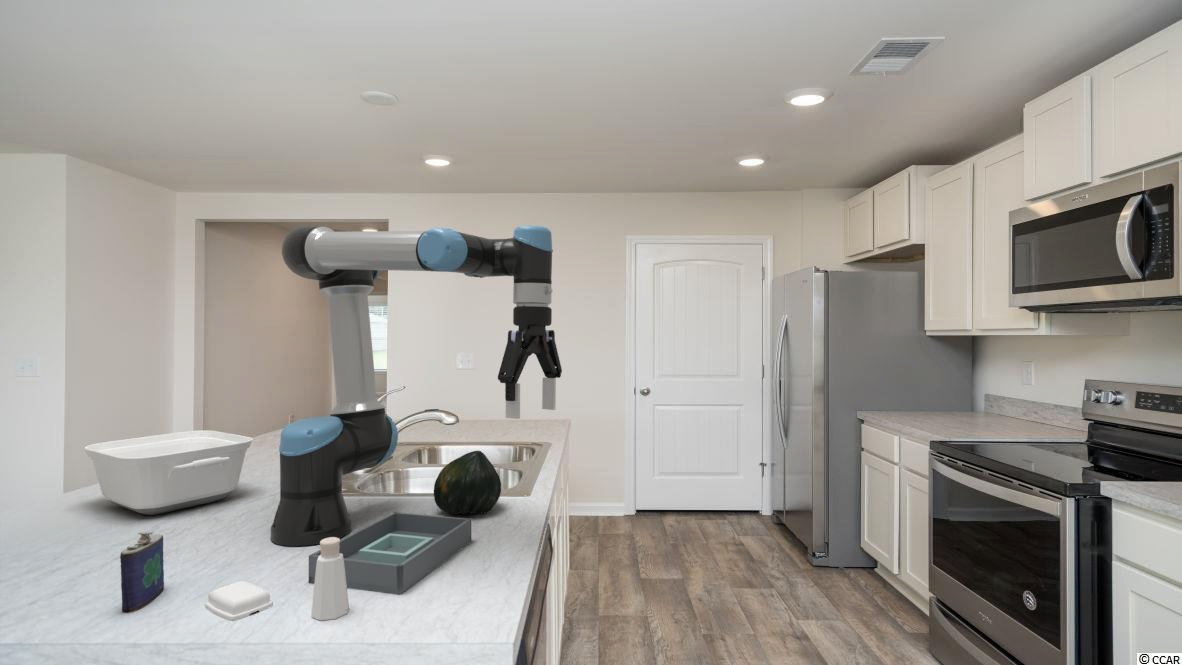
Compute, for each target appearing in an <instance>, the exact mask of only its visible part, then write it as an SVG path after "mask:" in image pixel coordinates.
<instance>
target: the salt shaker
mask: <svg viewBox="0 0 1182 665" xmlns="http://www.w3.org/2000/svg"><path fill="white" fill-rule="evenodd" d="M340 540H341V538H336V537H329V538H325V539H323V540H321V541H320V544H319V545H320V549H319V550H321V555H320V556H319V557H318V559H317V564H316V574H315V583H313V584H314V585H313V594H312V604H311V615H310V617H311V618H312V619H315V620H317V621H320V622H321V621H330V620H337V619H339V618H340V617H342V616H345V615H347V614H348V612H349V609H350V604H349V594H348V588H347V584H346V575H345V567H344V558H343V554H341V553H339V549H340V547H339V546H340V545H339V544H340Z"/></svg>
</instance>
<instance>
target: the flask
mask: <svg viewBox="0 0 1182 665" xmlns="http://www.w3.org/2000/svg"><path fill="white" fill-rule="evenodd" d="M137 535H140V538H138V540H137V543H135V544H134V545H132V546H130V545H129V546H127V547H126V548H125V549H123V551H121V552H120V555H119V556H120V557H119V558H120V561H119V562H120V578H121V579H120V580H121V581H120V585H121V586H120V587H121V612H122V614H126V613H127V614H130V613H134V612H137V611H139V610H141V609H143V608H144V607H145V606H147V605H149V604H150V603H152V602H153V601H155V599H156V598H157V597H158V596H159V595H160V594H162V592H164V588H165V573H164V572H165V571H164V562H165V561H164V535H163V534H160V533H158V534H154V532H153V531H151V532H149V531H147V532H146V531H141V532H138V533H137Z"/></svg>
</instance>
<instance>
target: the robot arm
mask: <svg viewBox="0 0 1182 665" xmlns="http://www.w3.org/2000/svg"><path fill="white" fill-rule="evenodd" d="M552 237H553V236H552V231H551V229H549V228H548V227H545V226H540V225H521V226H517V227H514V230H513V235H512V237H510V238H492V239H491V238H486V237H481V236H478V235H473V234H468V233H465V232H464V233H463V232H460V231H457V230H453V229H451V228H443V227H441V228H440V227H435V228H434V227H433V228H430V229H428V230H397V231H396V230H390V231H389V230H386V231H383V230H382V231H378V230H377V231H370V230H369V231H368V230H367V231H352V230H351V231H347V230H342V229H335V228H329V227H327V226H320V225H314V224H313V225H311V224H310V225H309V224H308V225H301V226H298V227H295V228H294V229H292V230H290V232H288V233H287V234H286V235H285V238H284V239H283V242H282V243H281V244H282V245H281V255H282V259H283V261H284V264H285V265H286V267H288V269H289V270H290V271H291V272H292V273H294V274H295V275H296V276H299V277H301V278H304V279H307V280H314V281H318V287H319V288H318V290H319V293H321V294H322V295H323V296H324V297H325V298H326V299H327V308H328V310H327V311H328V319H329V321H328V322H329V329H330V331H329V332H330V342H331V343H330V344H331V354H332V365H333V367H332V368H333V375H334V387H335V399H336V404H335V406H334V407H333V408H332V410H331V411H330V413H329V415H321V416H320V415H319V416H314V417H308V418H303V419H299V420H295V421H293V422H291V423H288V424H287V425H286V426H284V428H282V430H281V432H280V437H279V438H280V439H279V440H280V441H279V445H278V451H279V476H280V477H279V478H280V479H279V480H280V481H279V482H280V483H279V484H280V485H279V492H280V496H279V503H278V506H277V508H276V511H275V515H274V518H273V522H272V524H271V526H270V540H271V542H272V543H273V544H276V545H280V546H288V547H302V546H303V547H304V546H305V547H306V546H313V545H320V541H321V540H323V539H325V538H329V537H336V538H339V539H342V538H344V536H345V537H346V536H348V534H350V532H351V531H352V518H351V516H350V514H349V511H348V507H347V504H346V501H345V499H344V496H343V476H344V475H349V474H351V473H354V472H358V471H361V470H365V469H372V468H374V467H377V466H379V465H380V464H383V463H385V462H386V461H388V460H389V459H390V458H391V456H392V455H393V454H394V453H395V450H396V449H397V445H398V440H399V431H398V427H397V425H396V423H395V421H393V418H392V417H391V416H390V415H388V414H386V409H385V408H386V407H385V405H384V404H382V402H380V401H379V399H378V397H377V386H376V385H377V384H376V374H375V364H374V363H375V362H374V351H373V343H372V342H373V340H372V330H371V319H370V309H369V306H370V305H369V299H368V298H369V297H368V296H369V295H370V294H371V293H372V292H373V290H374V288H375V287H374V282H375V281H376V280H377V279H378V278H379V276H380V275H379V273H382V271H404V272H406V271H407V272H408V271H409V272H410V271H413V272H416V271H417V272H444V273H447V272H448V273H458V274H464V275H465V276H467V277H471V278H473V277H474V278H480V279H481V278H491V277H493V278H494V277H512V278H513V289H512V290H513V293H512V295H513V296H512V297H513V298H512V302H513V304H514V305H515V307H514V308H513V310H512V311H513V313H512V316H513V317H512V318H513V320H512V322H513V323H512V324H513V325H514V326H517V327H518V330H508V332H507V342H506V346H505V350H504V353H503V357H502V361H501V364H500V368H499V371H498V374H497V380H498V381H499V382H500V384H504V385H505V388H504V389H505V390H504V392H505V395H504V397H505V418H506V419H513V420H514V419H515V420H519V419H521V383H518V381H519V379H520V377H521V375H522V373H523V370H524V368H525V365H526V363H527V361H528V359H529V357H530V356H532V355H533V354H534V355H535V356H536V358H537V361H538V363H539V366H540V367H541V369H542V373H543V374H544V377H542V384H541V385H542V399H541V400H542V401H541V403H542V404H541V406H542V407H541V409H542V410H547V411H548V410H549V411H551V410H552V411H555V410H556V401H557V400H556V395H557V394H556V392H557V391H556V386H557V382H556V381H557V379H556V378H561V377H562V373H563V371H562V370H563V368H562V366H561V365H562V364H561V361H560V360H561V359H560V357H559V353H558V352H559V351H558V348H557V344H556V339H555V338H556V335H555V330H553V329H546V328H547V327H550V326H551V325H552V323H553V322H552V320H553V318H552V307H550V306H549V305H551V304H552V294H553V289H552V282H553V281H552V271H553V268H552V266H553V265H552V264H553V252H554V250H553V240H552V239H553V238H552Z"/></svg>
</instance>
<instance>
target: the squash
mask: <svg viewBox="0 0 1182 665" xmlns="http://www.w3.org/2000/svg"><path fill="white" fill-rule="evenodd" d="M501 491H502V482H501V478H500V475H499V474H498V472H497V470H496V467H495V466H494V465H493V463H492V462H491V461H490V460H489V459H488V457H487V456H486V455H485V453H484V452H482V451H481V450H473V451H470V452H466V453H465V454H463V455H461V456H459V457H457V458H455V459H454V460H452V461H450V462H449V463H447V464H446V465H445V466H444V467H442V469H441V470H440V472H439V473H438V475H437V477H436V478H435V481H434V486H433V497H434V502H435V504H436V506H437V507H438V508H439V510H441V511H442V512H445V513H448V514H450V515H459V513H460V514H462V515H465V514H468V513H470V514H478V515H479V514H482V515H483V514H486V513H488V512H490V511H491V510H492V508H494V507H495V505H496V504H497V503H498V501H499V499H500V497H501V493H502V492H501Z"/></svg>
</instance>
